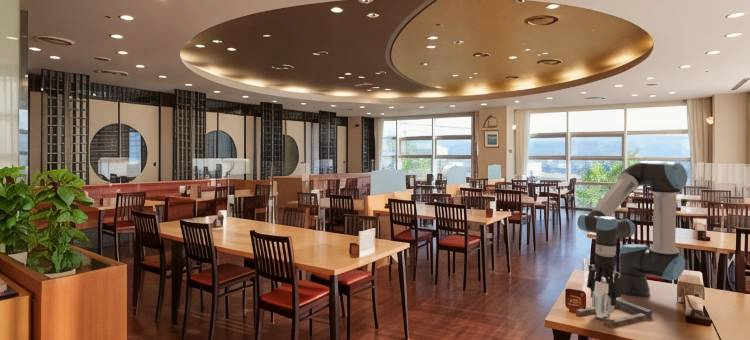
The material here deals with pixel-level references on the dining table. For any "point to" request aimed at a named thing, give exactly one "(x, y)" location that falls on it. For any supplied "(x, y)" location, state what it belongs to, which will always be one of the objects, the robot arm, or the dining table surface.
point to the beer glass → (601, 299)
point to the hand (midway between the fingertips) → (602, 309)
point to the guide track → (635, 309)
